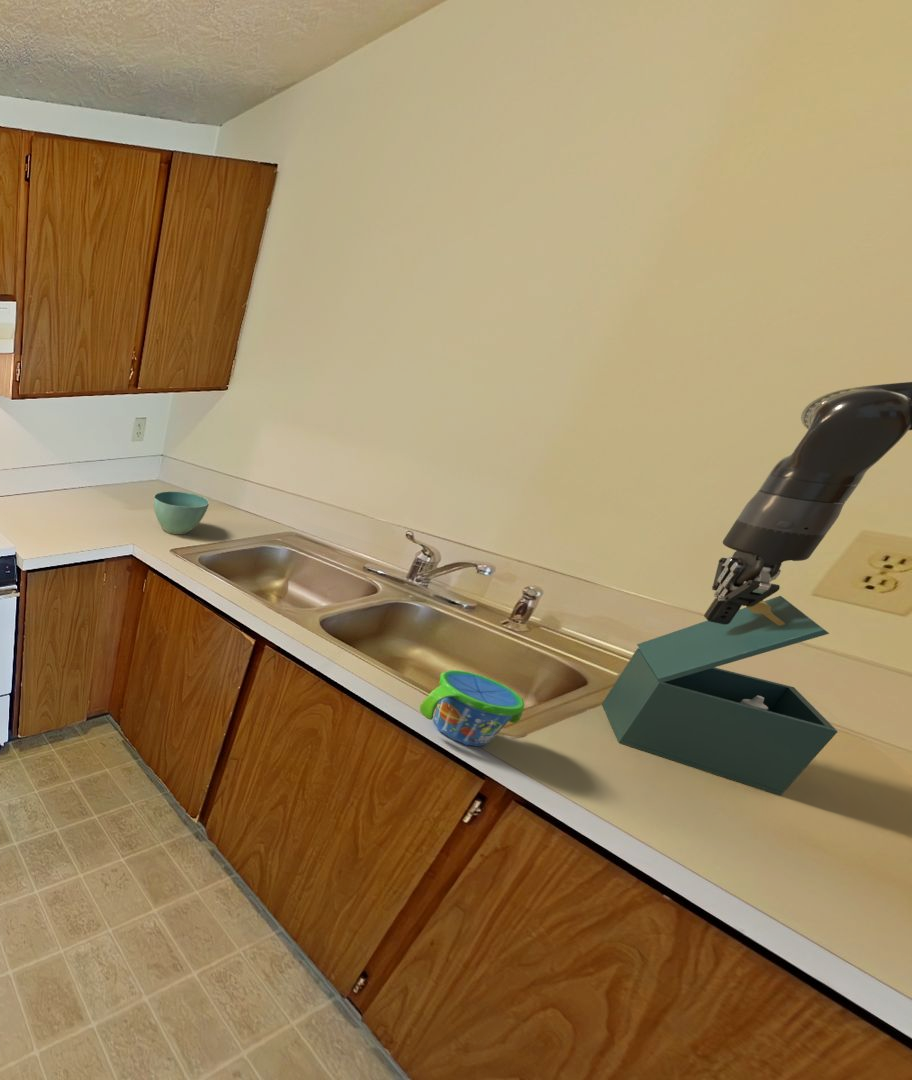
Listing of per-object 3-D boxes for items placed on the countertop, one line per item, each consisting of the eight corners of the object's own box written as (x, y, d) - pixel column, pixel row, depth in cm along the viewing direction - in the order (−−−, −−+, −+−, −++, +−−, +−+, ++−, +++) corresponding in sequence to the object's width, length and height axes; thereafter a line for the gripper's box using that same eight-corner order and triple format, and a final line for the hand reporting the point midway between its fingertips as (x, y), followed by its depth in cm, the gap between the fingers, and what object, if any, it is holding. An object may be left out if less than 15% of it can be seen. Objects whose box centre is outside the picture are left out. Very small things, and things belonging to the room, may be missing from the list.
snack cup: (483, 717, 96) (506, 673, 92) (533, 760, 86) (561, 713, 82) (393, 708, 98) (411, 665, 94) (431, 749, 88) (454, 703, 84)
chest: (745, 747, 89) (794, 687, 84) (780, 796, 80) (838, 731, 75) (601, 704, 99) (637, 648, 94) (618, 742, 90) (658, 682, 85)
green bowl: (184, 543, 173) (190, 510, 168) (138, 528, 187) (143, 496, 182) (212, 532, 183) (219, 500, 178) (167, 518, 197) (172, 488, 192)
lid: (785, 599, 82) (752, 575, 84) (829, 633, 73) (792, 606, 74) (640, 647, 94) (614, 626, 95) (662, 682, 85) (633, 658, 86)
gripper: (851, 542, 70) (772, 647, 76) (803, 518, 79) (737, 613, 86) (757, 529, 74) (691, 629, 81) (723, 508, 83) (666, 599, 90)
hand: (715, 621), depth 83 cm, fingers closed
